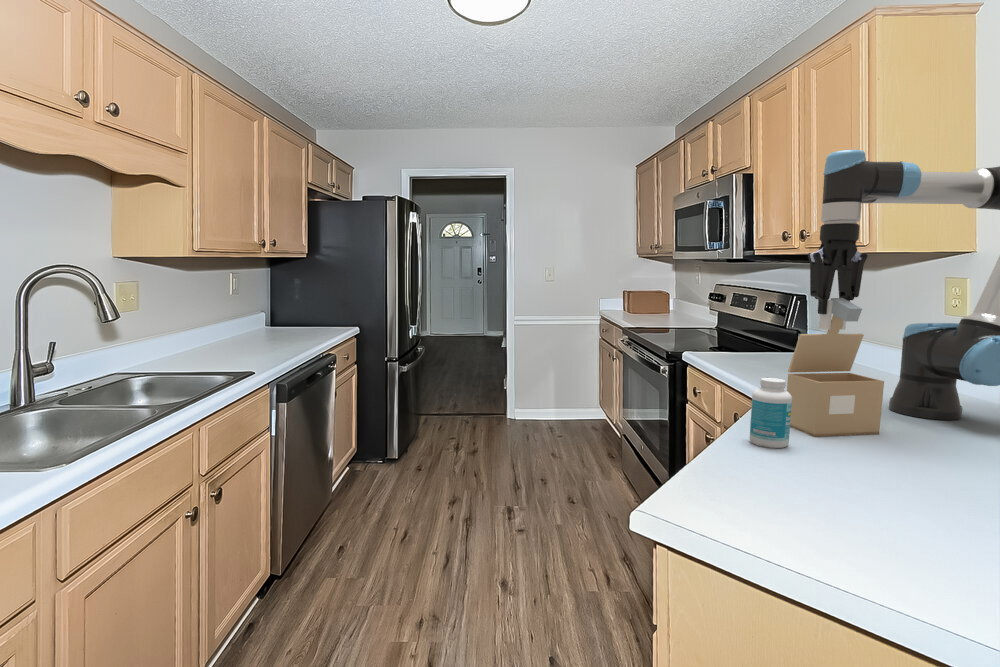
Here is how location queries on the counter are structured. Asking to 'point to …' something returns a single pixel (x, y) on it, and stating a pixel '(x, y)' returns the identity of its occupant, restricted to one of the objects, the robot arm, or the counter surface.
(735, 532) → the counter surface
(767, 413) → the pill bottle
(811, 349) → the flap
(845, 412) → the carton
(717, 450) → the counter surface
